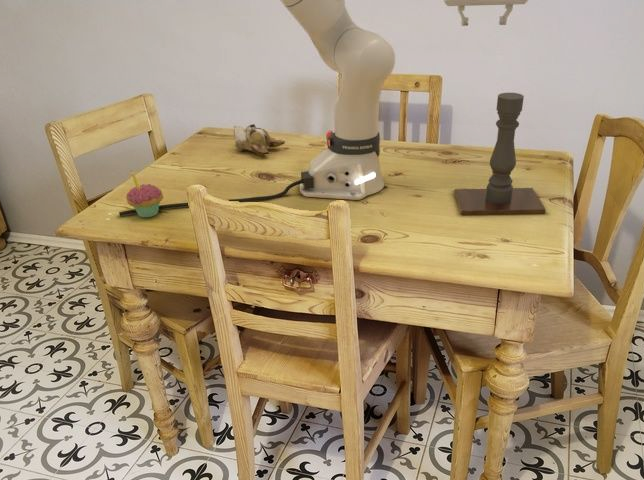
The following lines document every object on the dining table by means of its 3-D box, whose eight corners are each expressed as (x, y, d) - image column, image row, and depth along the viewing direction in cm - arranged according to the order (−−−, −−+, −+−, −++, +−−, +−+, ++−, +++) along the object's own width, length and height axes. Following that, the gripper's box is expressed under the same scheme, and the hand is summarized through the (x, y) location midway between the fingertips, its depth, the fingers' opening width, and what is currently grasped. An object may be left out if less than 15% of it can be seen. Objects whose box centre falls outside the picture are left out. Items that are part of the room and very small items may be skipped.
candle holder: (511, 204, 146) (525, 100, 132) (485, 203, 147) (496, 99, 134) (511, 194, 151) (524, 92, 138) (485, 192, 152) (496, 91, 139)
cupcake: (147, 223, 145) (136, 176, 138) (123, 216, 149) (111, 169, 142) (173, 210, 151) (163, 164, 144) (149, 203, 155) (139, 158, 148)
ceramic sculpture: (243, 115, 187) (285, 123, 182) (245, 142, 192) (286, 151, 187) (223, 125, 179) (266, 134, 174) (226, 153, 184) (268, 163, 179)
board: (461, 215, 145) (461, 210, 144) (454, 193, 156) (454, 189, 155) (544, 213, 144) (545, 209, 144) (531, 192, 155) (532, 187, 155)
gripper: (446, -37, 140) (443, 28, 148) (535, -39, 139) (527, 26, 147) (443, -39, 145) (440, 23, 153) (528, -41, 145) (521, 21, 152)
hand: (483, 25), depth 150 cm, fingers open, 8 cm apart
